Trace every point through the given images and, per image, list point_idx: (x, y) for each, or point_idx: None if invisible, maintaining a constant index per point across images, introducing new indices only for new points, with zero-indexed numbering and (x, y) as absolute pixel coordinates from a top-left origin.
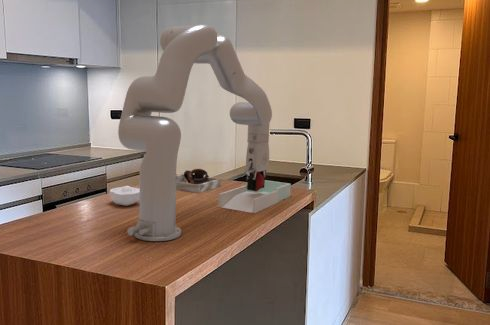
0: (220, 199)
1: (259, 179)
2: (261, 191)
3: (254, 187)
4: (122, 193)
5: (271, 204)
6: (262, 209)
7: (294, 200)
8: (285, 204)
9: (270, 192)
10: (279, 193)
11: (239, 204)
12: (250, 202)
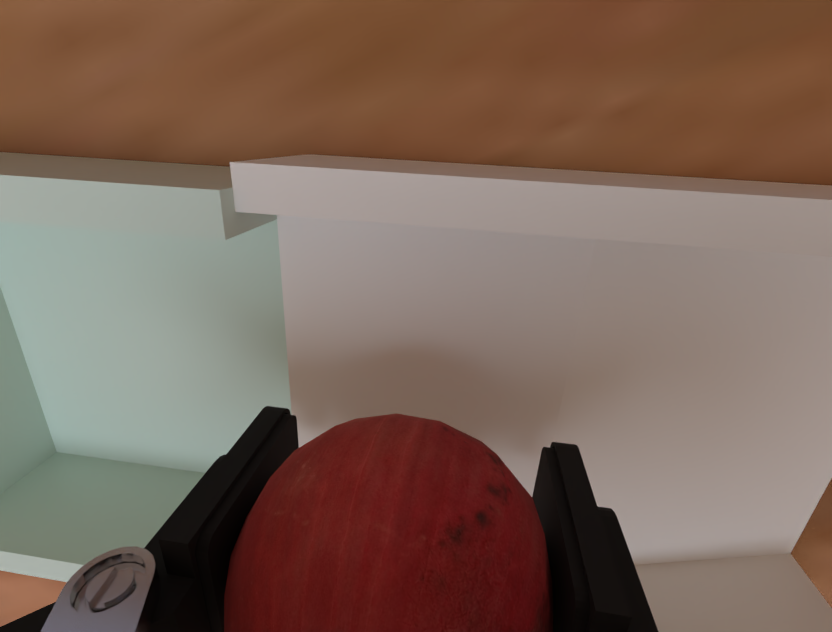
0: None
1: (497, 565)
2: (62, 447)
3: (583, 490)
4: None
5: (495, 166)
6: (761, 181)
7: (56, 13)
8: (322, 29)
9: (463, 223)
10: (183, 175)
11: (741, 449)
12: (691, 372)
